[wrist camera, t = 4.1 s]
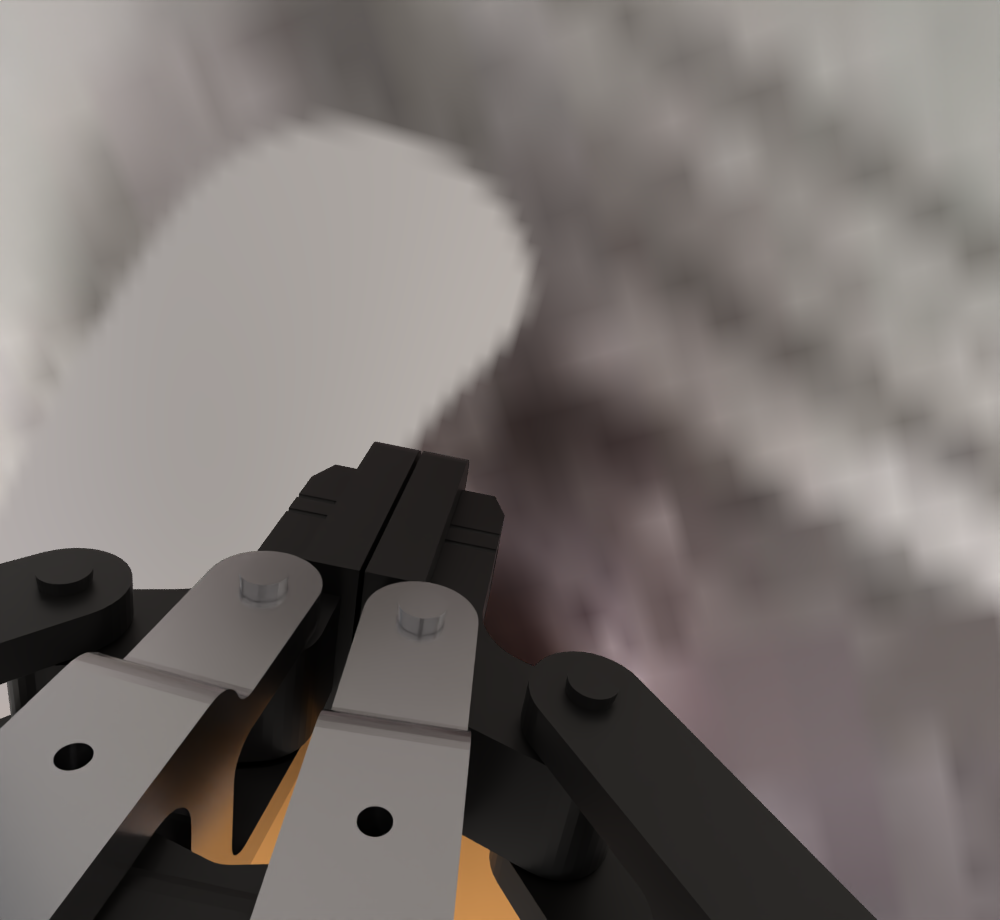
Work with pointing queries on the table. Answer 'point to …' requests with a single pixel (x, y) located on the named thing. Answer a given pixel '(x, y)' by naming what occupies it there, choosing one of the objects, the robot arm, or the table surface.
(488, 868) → the ball
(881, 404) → the table surface
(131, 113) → the table surface
